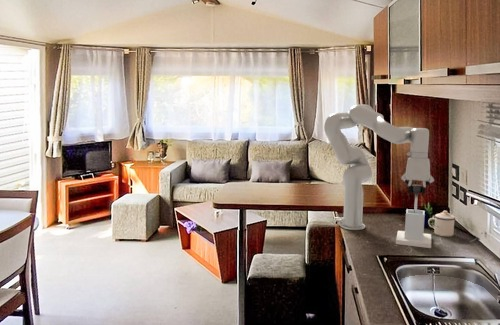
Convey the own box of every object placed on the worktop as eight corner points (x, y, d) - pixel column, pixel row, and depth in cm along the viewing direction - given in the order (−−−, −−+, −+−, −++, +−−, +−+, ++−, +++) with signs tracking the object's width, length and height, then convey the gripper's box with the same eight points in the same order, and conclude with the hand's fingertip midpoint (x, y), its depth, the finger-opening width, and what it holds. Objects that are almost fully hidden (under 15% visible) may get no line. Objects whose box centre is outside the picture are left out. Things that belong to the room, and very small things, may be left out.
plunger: (408, 224, 205) (410, 186, 202) (408, 221, 210) (410, 183, 207) (421, 225, 203) (423, 187, 200) (421, 222, 208) (423, 184, 205)
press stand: (395, 244, 203) (397, 214, 201) (397, 234, 217) (399, 206, 215) (431, 248, 198) (433, 217, 196) (430, 238, 212) (432, 209, 210)
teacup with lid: (454, 232, 220) (456, 209, 218) (453, 238, 212) (454, 214, 210) (428, 229, 226) (430, 207, 224) (426, 234, 218) (427, 211, 216)
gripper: (398, 155, 201) (396, 194, 204) (439, 157, 195) (436, 198, 198) (399, 153, 208) (397, 191, 211) (438, 155, 202) (436, 194, 205)
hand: (416, 194), depth 204 cm, fingers closed on plunger, 4 cm apart
